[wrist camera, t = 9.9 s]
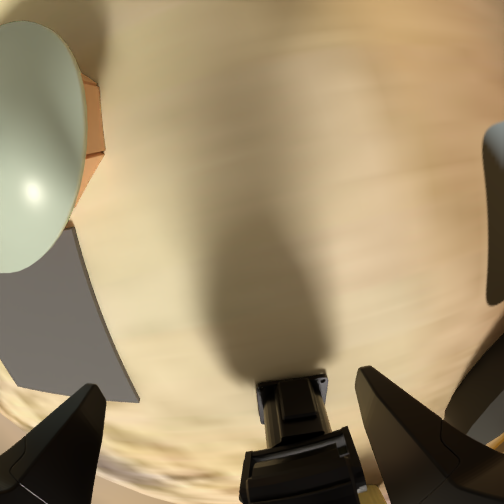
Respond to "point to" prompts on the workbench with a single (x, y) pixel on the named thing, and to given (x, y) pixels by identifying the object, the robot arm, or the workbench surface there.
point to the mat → (58, 328)
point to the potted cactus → (371, 496)
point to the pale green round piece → (38, 141)
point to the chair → (481, 398)
